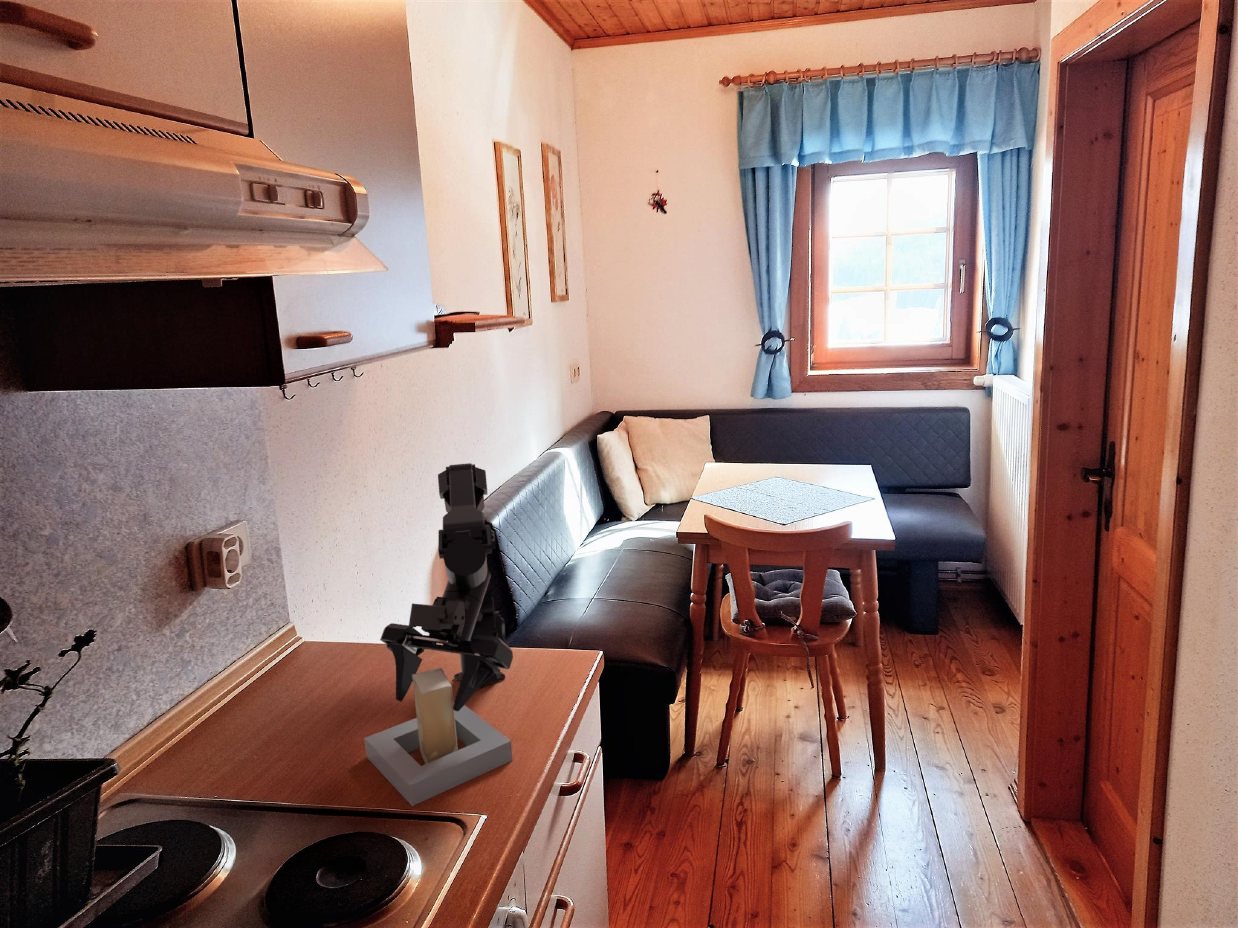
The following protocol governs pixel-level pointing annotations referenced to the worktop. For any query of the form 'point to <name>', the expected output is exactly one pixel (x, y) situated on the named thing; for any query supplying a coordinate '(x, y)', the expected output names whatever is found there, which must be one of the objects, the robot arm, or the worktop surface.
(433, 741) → the skincare box
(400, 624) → the robot arm
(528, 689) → the worktop surface
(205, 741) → the worktop surface
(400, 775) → the plate
